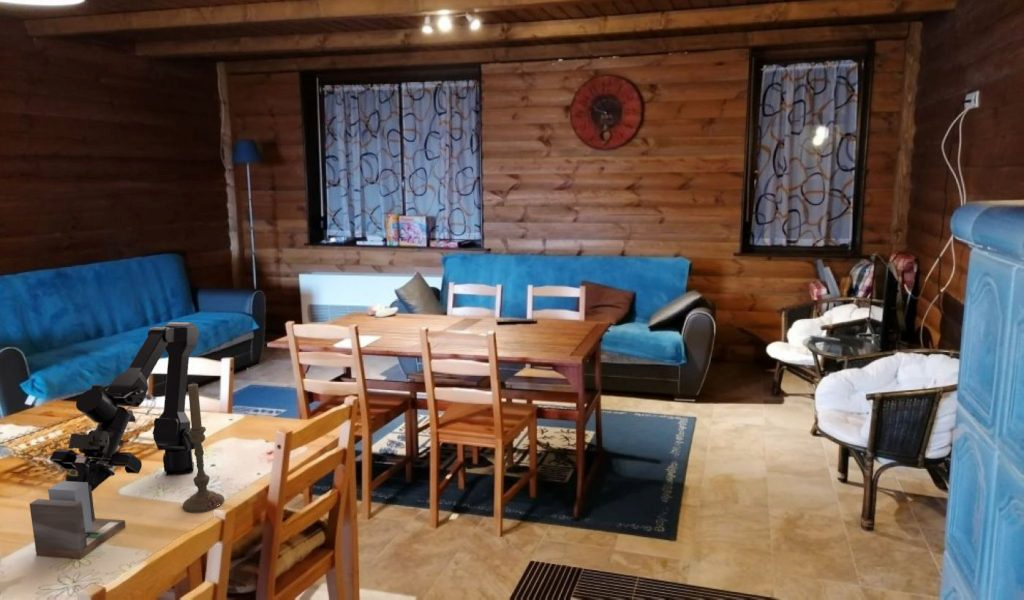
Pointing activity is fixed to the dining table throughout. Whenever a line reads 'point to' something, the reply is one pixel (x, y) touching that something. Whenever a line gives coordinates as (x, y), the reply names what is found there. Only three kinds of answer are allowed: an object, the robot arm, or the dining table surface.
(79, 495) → the block
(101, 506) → the dining table surface
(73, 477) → the tape measure
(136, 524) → the dining table surface
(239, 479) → the dining table surface
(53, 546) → the base
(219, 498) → the candlestick holder
